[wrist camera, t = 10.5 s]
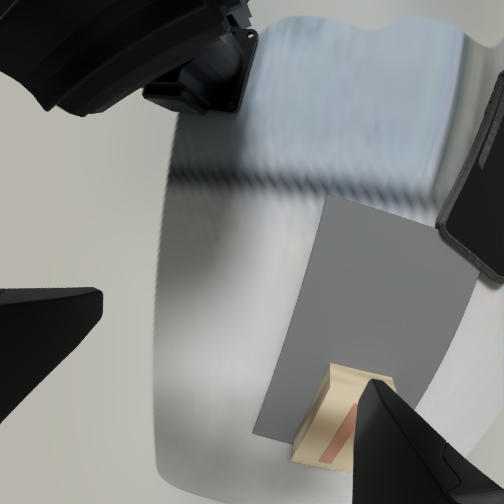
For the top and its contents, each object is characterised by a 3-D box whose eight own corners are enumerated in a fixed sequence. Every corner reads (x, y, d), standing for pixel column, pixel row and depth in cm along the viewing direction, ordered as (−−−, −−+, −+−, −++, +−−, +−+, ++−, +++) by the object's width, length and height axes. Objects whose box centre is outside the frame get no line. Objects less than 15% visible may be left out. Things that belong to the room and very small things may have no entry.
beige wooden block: (349, 447, 22) (349, 473, 19) (295, 435, 22) (290, 461, 19) (392, 377, 20) (399, 402, 17) (330, 362, 20) (330, 387, 17)
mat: (327, 194, 19) (327, 194, 18) (483, 246, 17) (487, 248, 16) (253, 429, 24) (252, 433, 23) (379, 455, 22) (379, 459, 21)
